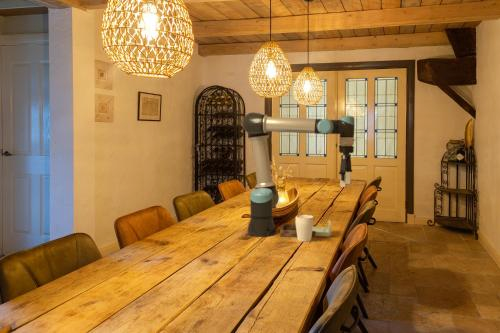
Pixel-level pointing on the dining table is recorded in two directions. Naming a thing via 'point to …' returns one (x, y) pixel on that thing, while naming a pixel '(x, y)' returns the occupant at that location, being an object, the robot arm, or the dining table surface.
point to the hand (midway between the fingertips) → (345, 185)
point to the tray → (323, 230)
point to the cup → (304, 227)
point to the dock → (291, 231)
